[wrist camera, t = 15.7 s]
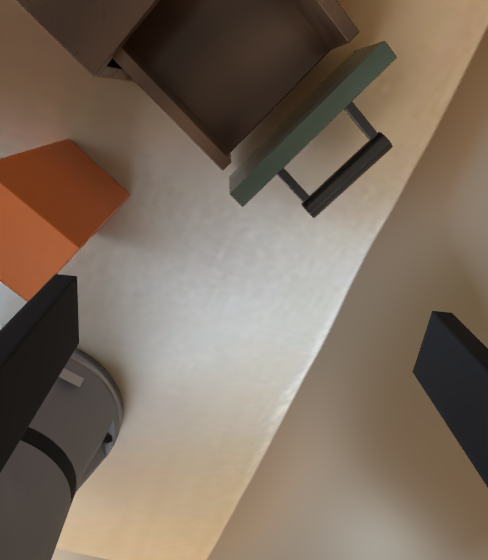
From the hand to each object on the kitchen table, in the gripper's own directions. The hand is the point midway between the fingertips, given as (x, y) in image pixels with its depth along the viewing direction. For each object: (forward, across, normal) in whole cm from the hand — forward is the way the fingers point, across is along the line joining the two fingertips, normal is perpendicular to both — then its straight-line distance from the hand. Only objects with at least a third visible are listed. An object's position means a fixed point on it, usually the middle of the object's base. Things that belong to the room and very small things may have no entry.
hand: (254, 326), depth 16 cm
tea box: (+21, -13, 0) cm, 24 cm away
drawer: (+20, 0, +9) cm, 22 cm away
